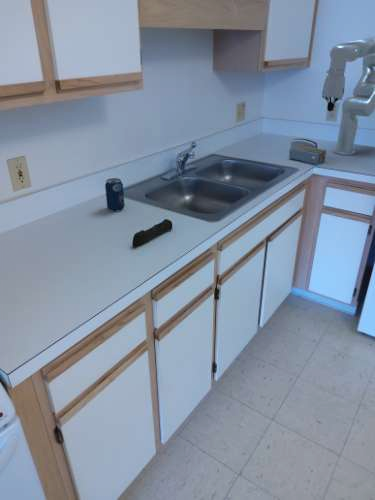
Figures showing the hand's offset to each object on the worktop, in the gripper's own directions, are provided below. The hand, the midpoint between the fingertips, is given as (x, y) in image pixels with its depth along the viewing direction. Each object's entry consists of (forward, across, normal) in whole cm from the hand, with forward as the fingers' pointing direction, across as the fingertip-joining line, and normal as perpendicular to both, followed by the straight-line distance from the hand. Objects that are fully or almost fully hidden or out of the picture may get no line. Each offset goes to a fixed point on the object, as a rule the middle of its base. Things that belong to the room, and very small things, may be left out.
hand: (330, 110), depth 207 cm
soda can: (+27, -40, -120) cm, 129 cm away
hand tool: (+28, -11, -130) cm, 133 cm away
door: (+26, -8, -9) cm, 29 cm away
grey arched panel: (+28, -15, +10) cm, 33 cm away
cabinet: (+27, -7, -3) cm, 28 cm away
